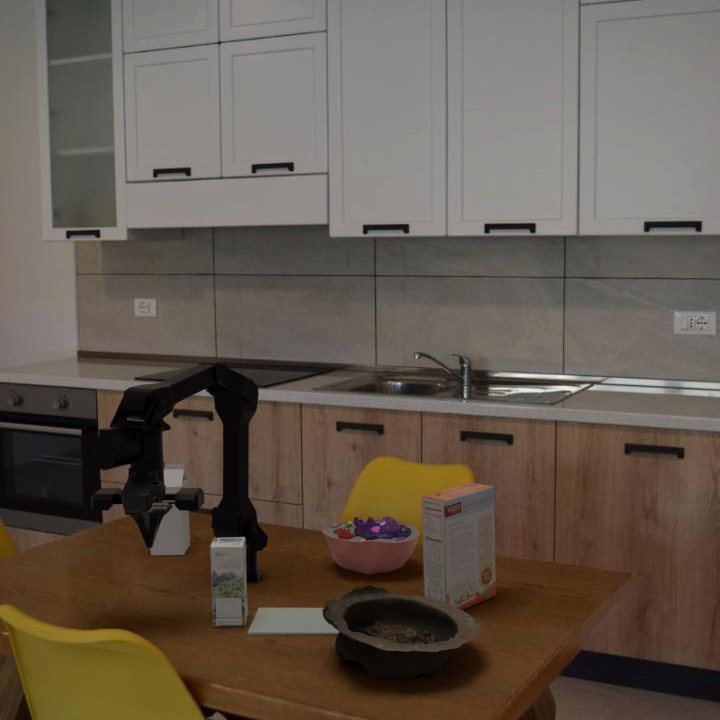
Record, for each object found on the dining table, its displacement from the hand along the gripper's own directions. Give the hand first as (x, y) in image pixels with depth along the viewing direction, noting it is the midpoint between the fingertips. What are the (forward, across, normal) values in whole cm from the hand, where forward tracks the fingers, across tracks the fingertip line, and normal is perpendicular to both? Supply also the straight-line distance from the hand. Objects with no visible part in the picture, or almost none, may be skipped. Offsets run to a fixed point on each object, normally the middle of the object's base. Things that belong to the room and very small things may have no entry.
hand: (150, 547), depth 181 cm
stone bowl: (+13, +44, -17) cm, 49 cm away
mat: (+13, +26, -1) cm, 29 cm away
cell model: (+13, +37, +28) cm, 48 cm away
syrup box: (+13, +14, -1) cm, 19 cm away
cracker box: (+13, +54, +9) cm, 56 cm away
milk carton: (+13, -7, +41) cm, 43 cm away
